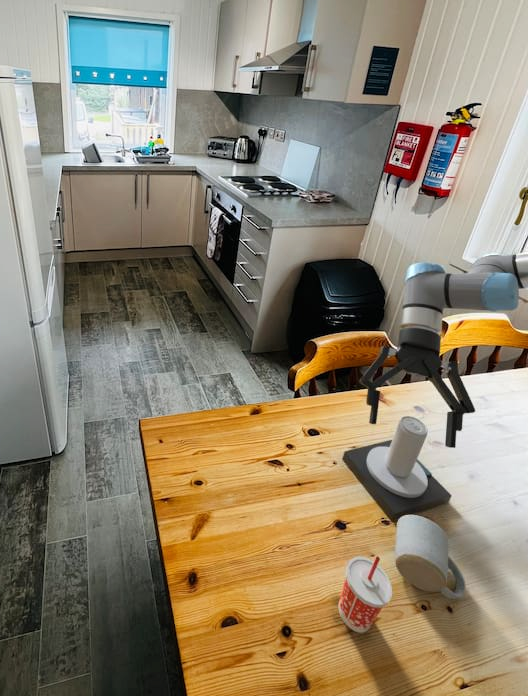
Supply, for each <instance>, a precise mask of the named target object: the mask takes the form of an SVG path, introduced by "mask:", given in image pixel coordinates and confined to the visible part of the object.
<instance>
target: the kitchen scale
mask: <svg viewBox="0 0 528 696" xmlns="http://www.w3.org/2000/svg"><path fill="white" fill-rule="evenodd" d="M391 442H392V439H388V440H385V441H381V442H377V443H372V444H368V445H364V446H360V447H356V448H352V449H348V450H344V451H343V455H342V457H341V459H342V461H343V462H344V463H345V465H346V466H347V467H348V469H349V470H350V471H351V472H352V474H353V475H354V476H355V477H356V479H357V480H358V481H359V482H360V483H361V485H362V486H363V487H364V488H365V490H366V491H367V492H368V494H369V495H370V496H371V497H372V499H373V500H374V502H376V504H377V506H379V508H380V509H381V510H382V512H383V513H384V514H385V515H386V517H387V519H389V520H390V521H391V522H394V521H398V520H399V519H400V518H401V517H402V516H405V515H418V514H420V513H423V512H426V511H429V510H432V509H436V508H439V507H442V506H445V505H448V504H449V502H450V501H451V499H452V494H451V493H450V492H449V491H448V490H447V489H446V488H445V487H444V486H443V485H442V484H441V483H440V482H439V481H438V480H437V479H436V478H435V477H434V476H433V473H432V472H431V471H430V470H429V469H428V468H427V467H426V466H425V465H424V464H423V463H422V462H421V461H420V460H419V459H418V458H417V460H416V462H415V465H414V467H413V469H412V472H411V474H410V475H409V476H408V477H398V476H395V475H394V474H392V473H391V472H390V471H389V470H388V469H387V467H386V465H385V458H386V455H387V453H388V450H389V447H390V445H391Z"/></svg>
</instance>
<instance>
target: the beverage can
mask: <svg viewBox="0 0 528 696" xmlns="http://www.w3.org/2000/svg"><path fill="white" fill-rule="evenodd" d="M428 430H429V429H428V427H427V425H426V424H425V423H424V422H423V421H422V420H420V419H418V418H416V417H413V416H410V415H405V416H402V417H401V419H400V420H399V422H398V424H397V426H396V429H395V432H394V435H393V436H392V439H391V440H392V442H391V445H390V447H389V450H388V453H387V455H386V458H385V465H386V467H387V469H388V470H389V471H390V472H391V473H392V474H394V475H395V476H398V477H408V476H409V475H410V474H411V472H412V469H413V467H414V465H415V462H416V460H417V459H418V457H419V455H420V453H421V450H422V449H423V446H424V443H425V441H426V439H427V436H428Z"/></svg>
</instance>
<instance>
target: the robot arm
mask: <svg viewBox="0 0 528 696" xmlns="http://www.w3.org/2000/svg"><path fill="white" fill-rule="evenodd" d="M403 286H404V287H403V288H404V289H403V301H402V308H401V309H402V310H401V317H400V323H399V324H400V325H399V326H400V328H401V329H400V330H399V335H398V342H397V348H396V349H395V348H392V347H390V346H389V345H388V344H384V345H383V346H382V347H380V350H379V354H378V356H377V358H376V359H375V360H374V361H373V362H372V364H371V365H370V366H369V367H368V369H367V370H366V371H365V372H364V374H363V375H362V376H361V377H360V379H359V380H358V383H359V384H360V385H362V386H364V388H366V389H367V394H366V401H365V402H366V403H365V404H366V405H367V406H369V407H370V413H369V421H368V424H371V425H376V424H377V420H378V412H379V404H380V396H381V391H380V390H377V389H378V388H379V387H380V386H382V385H383V384H385V383H386V382H387V381H389V380H390V379H392V378H393V377H394V376H396V375H397V374H399V373H401V372H402V371H403V372H404V373H405V374H407V375H412V376H413V375H415V376H416V377H418V378H422V379H423V378H427V380H428V381H429V382H430V383H432V385H433V386H434V388H435V389H436V390H437V392H438V393H439V395H440V397H442V399H443V400H444V402H445V403H446V404H447V406H448V407H449V409H450V410H451V411H446V412H447V413H446V429H445V441H444V442H445V443H444V446H445V447H447V448H450V449H451V448H453V449H455V448H456V445H457V441H456V440H457V432H461V431H462V430H463V422H464V421H463V420H464V418H463V417H464V414H473V413H476V408H475V405H474V404H473V401H472V400H471V397H470V395H469V393H468V391H467V389H466V386H465V384H464V382H463V380H462V377H461V376H460V373H459V364H458V362H457V361H456V360H452V361H446V360H441V357H440V355H441V343H442V336H440V334H442V331H443V330H442V329H443V316H444V309H453V310H454V309H455V310H473V311H474V310H475V311H490V312H504V311H505V312H508V311H510V312H512V311H514V310H516V309H517V308H518V306H519V301H520V292H519V291H520V289H521V290H522V289H528V252H520V253H515V254H506V255H503V254H500V253H488V254H484V255H483V256H481V257H480V258H477V259H476V260H475V261H474V262H473V264H471V267H470V269H469V270H468V271H467V273H466V272H465V273H448V272H447V271H446V268H445V267H444V266H443V265H441V264H438V263H435V262H432V263H431V262H427V261H422V262H421V261H420V262H416V263H413V264H411V265H409V267H408V268H407V271H406V275H405V281H404V283H403ZM392 356H394V358H395V359H396V361H397V362H398V363H397V364H396V365H394V366H393V367H392V368H391V369H389V370H387V371H386V372H385V373H384V374H382V375H381V376H379V377H378V378H376V379H375V380H373V381H371V379H372V377H373V376H374V375H375V374H376V372H377V371H378V369H379V368H381V366H382V365H383V363H384V362H385V361H386V360H387V359H389V358H391V357H392ZM439 368H442V370H443V372H444V373H446V375H447V378H448V381H449V383H450V386H451V388H452V389H453V391H454V393H453V392H452V390H450V388H449V386H448V385H447V383H446V382H445V381H444V380H443V378H442V377H443V376H441V374H440V373H439V371H438V369H439ZM454 394H455V395H454Z"/></svg>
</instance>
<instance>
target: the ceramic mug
mask: <svg viewBox="0 0 528 696" xmlns="http://www.w3.org/2000/svg"><path fill="white" fill-rule="evenodd" d="M395 534H396V535H395V548H394V549H395V550H394V563H395V566H396V569H397V571H398V573H399V574H400V575H401V576H402V578H403V579H404V580H405V581H406V582H408V583H409V584H410V585H412V586H414V587H416V588H418V589H420V590H423V591H426V592H433V593H434V592H440V593H441V594H442V595H444V596H446V597H447V598H449V599H453V600H456V599H460V598H462V597H464V595H465V594H466V588H467V587H466V581H465V579H464V578H465V577H464V576H463V574H462V572H461V570H460V568H459V567H458V565H457V564H456V563H455V561H454V560H453V559H452V558H451V557H450V555H449V553H450V542H449V541H450V540H449V537H448V535H447V534H446V532H445V531H444V529H442V527H441V526H439V525H438V524H437V523H436V522H434V521H432V520H430V519H429V518H426V517H424V516H421V515H418V514H414V515H405V516H402V517H401V518H400V519H398V520H397V522H396V533H395ZM449 570H450V572H451V574H452V575H453V577H454V580H455V590H454V592H453V591H452V590H450V588H448V587H447V586H446V585H447V582H448V576H449Z"/></svg>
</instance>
